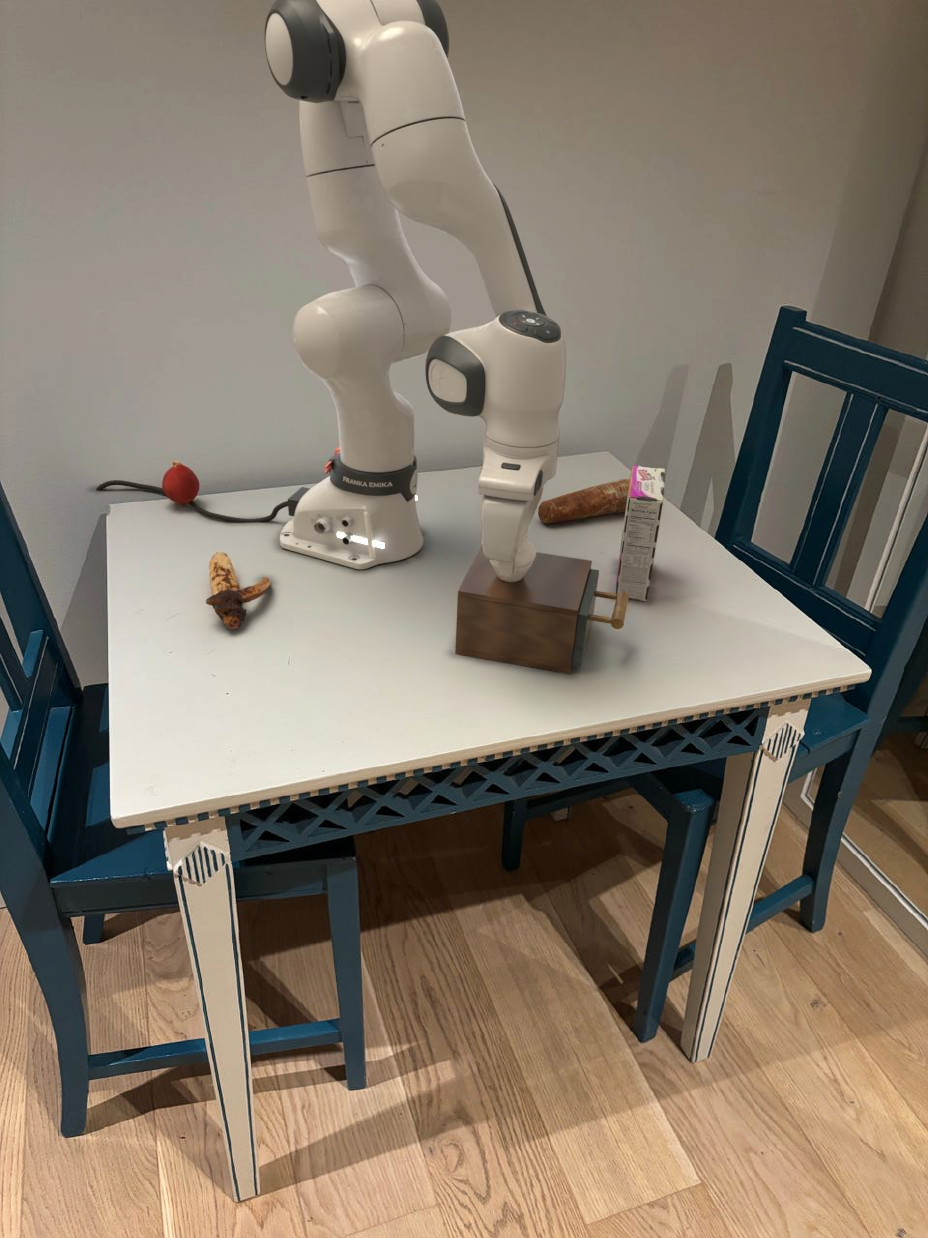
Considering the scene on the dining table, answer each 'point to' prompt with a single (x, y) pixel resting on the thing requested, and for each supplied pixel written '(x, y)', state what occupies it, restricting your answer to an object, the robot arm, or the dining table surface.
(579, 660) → the drawer
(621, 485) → the bread
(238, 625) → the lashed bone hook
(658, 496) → the candy bar box
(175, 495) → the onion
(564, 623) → the cabinet
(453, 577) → the dining table surface
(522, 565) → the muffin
